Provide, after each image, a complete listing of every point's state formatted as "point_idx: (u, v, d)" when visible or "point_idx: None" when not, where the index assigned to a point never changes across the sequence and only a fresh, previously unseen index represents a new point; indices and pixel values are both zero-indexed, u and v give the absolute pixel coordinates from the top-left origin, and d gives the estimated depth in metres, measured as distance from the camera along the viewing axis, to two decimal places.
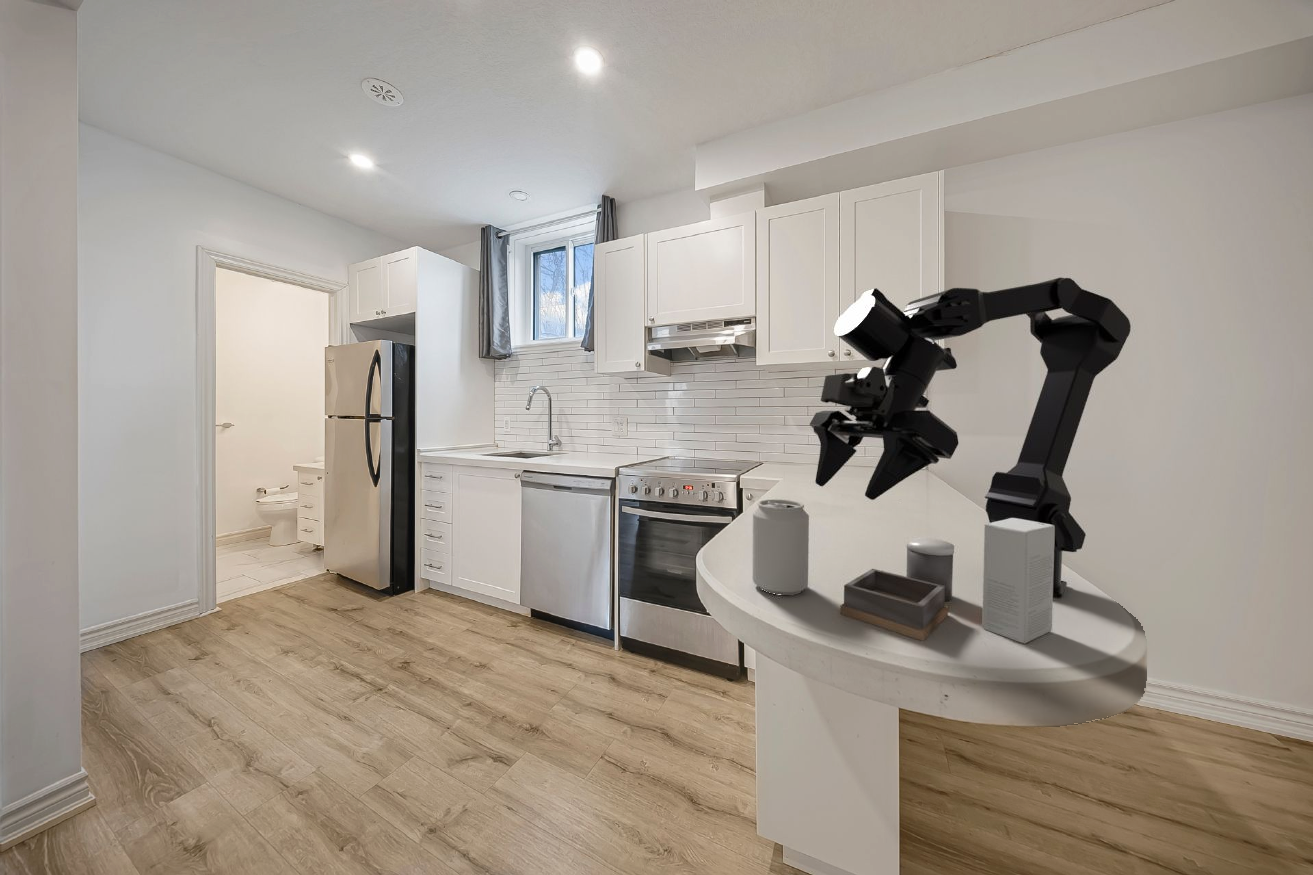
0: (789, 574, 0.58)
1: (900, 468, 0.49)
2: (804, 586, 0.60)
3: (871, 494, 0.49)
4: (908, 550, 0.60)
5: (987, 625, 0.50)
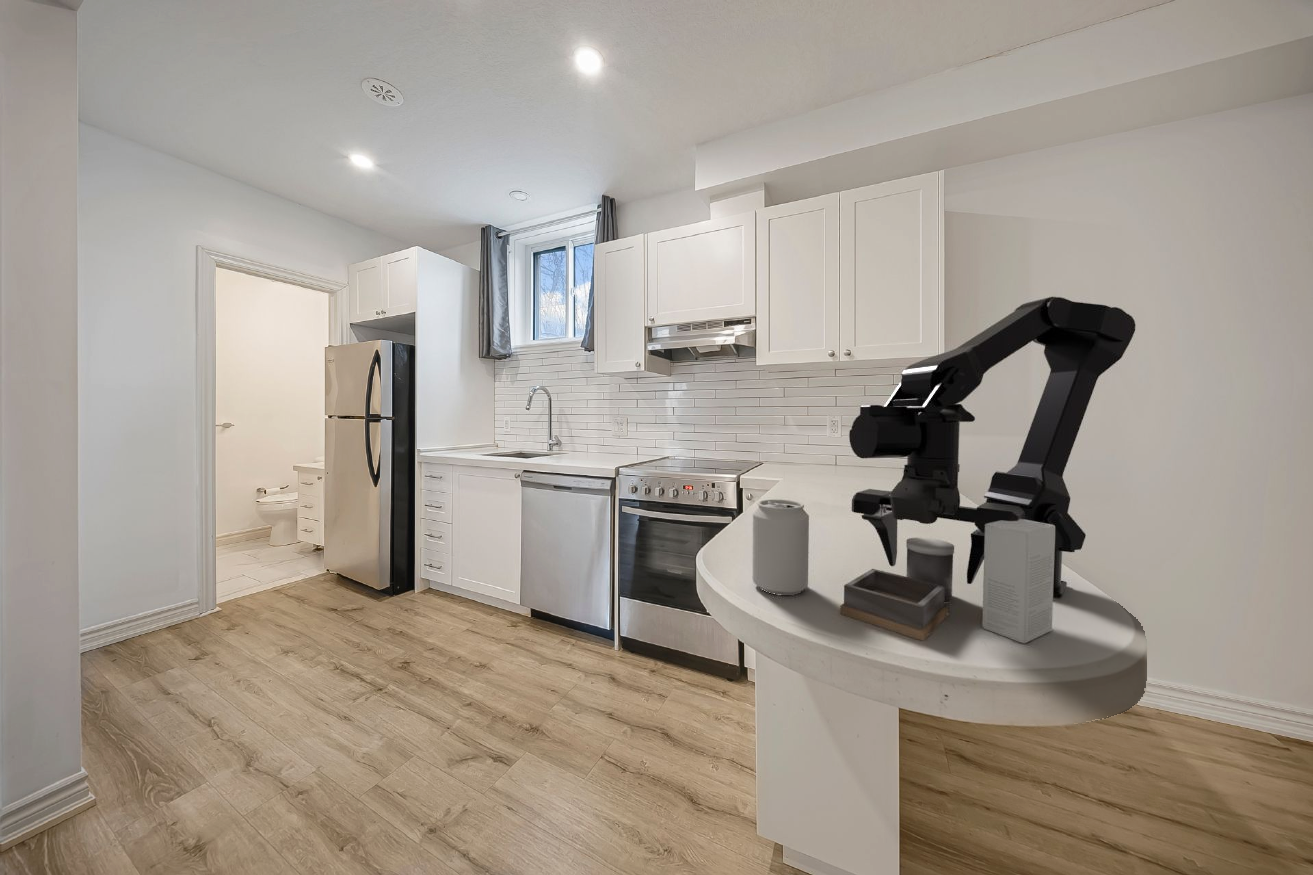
0: (789, 574, 0.58)
1: None
2: (804, 586, 0.60)
3: (972, 581, 0.56)
4: (908, 550, 0.60)
5: (987, 625, 0.50)
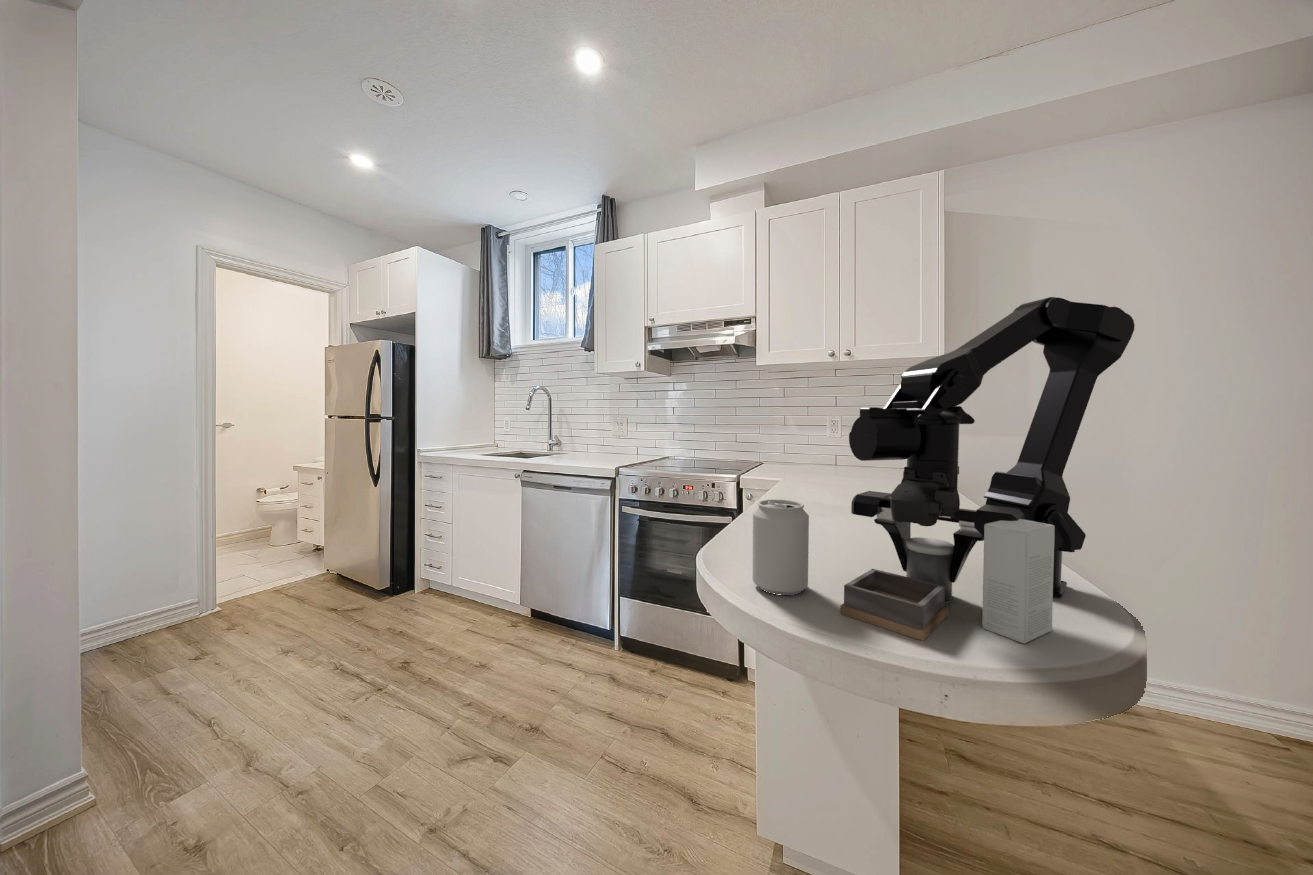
0: (789, 574, 0.58)
1: None
2: (804, 586, 0.60)
3: (955, 579, 0.57)
4: (908, 549, 0.60)
5: (987, 625, 0.50)
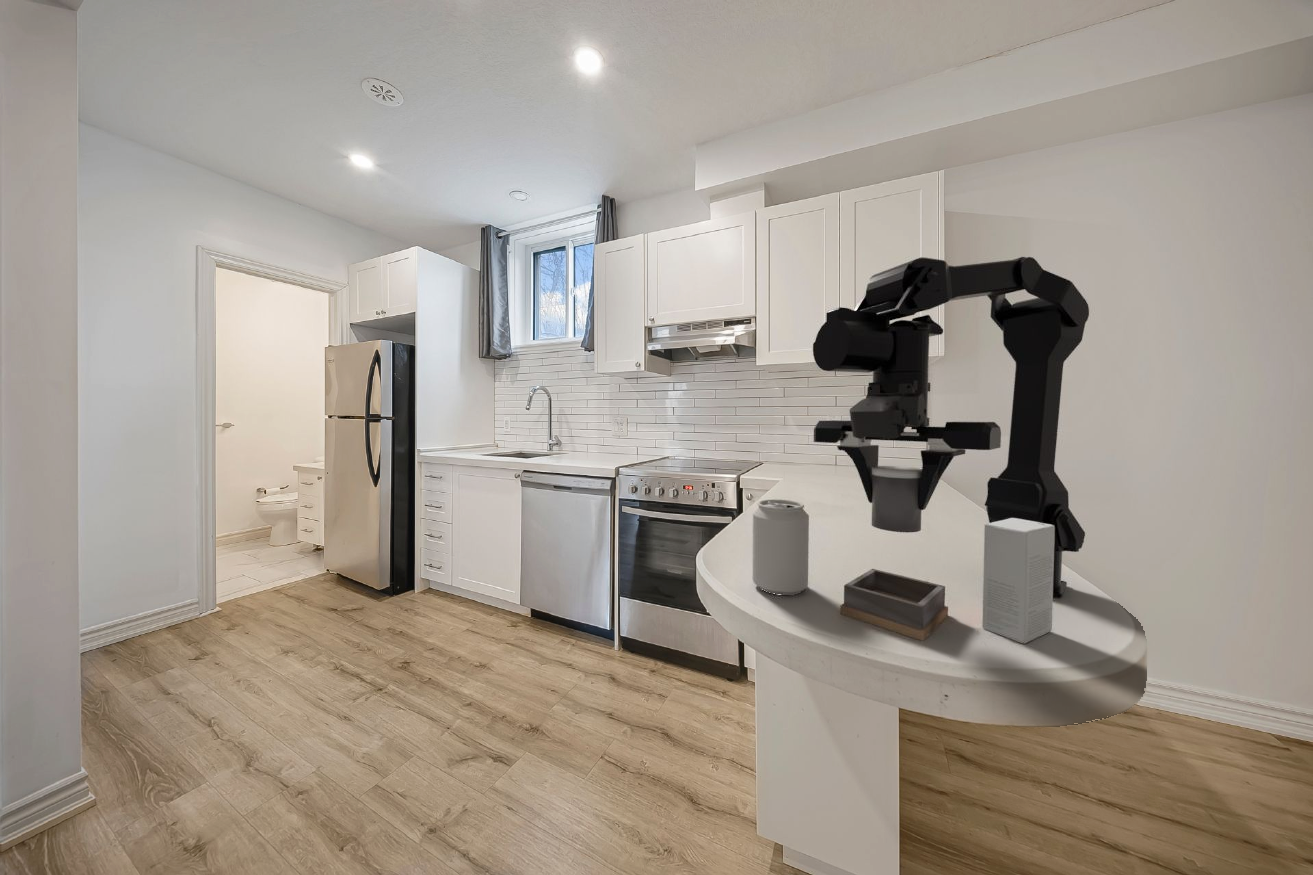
0: (789, 574, 0.58)
1: (937, 471, 0.51)
2: (804, 586, 0.60)
3: (924, 506, 0.51)
4: (873, 476, 0.54)
5: (987, 625, 0.50)
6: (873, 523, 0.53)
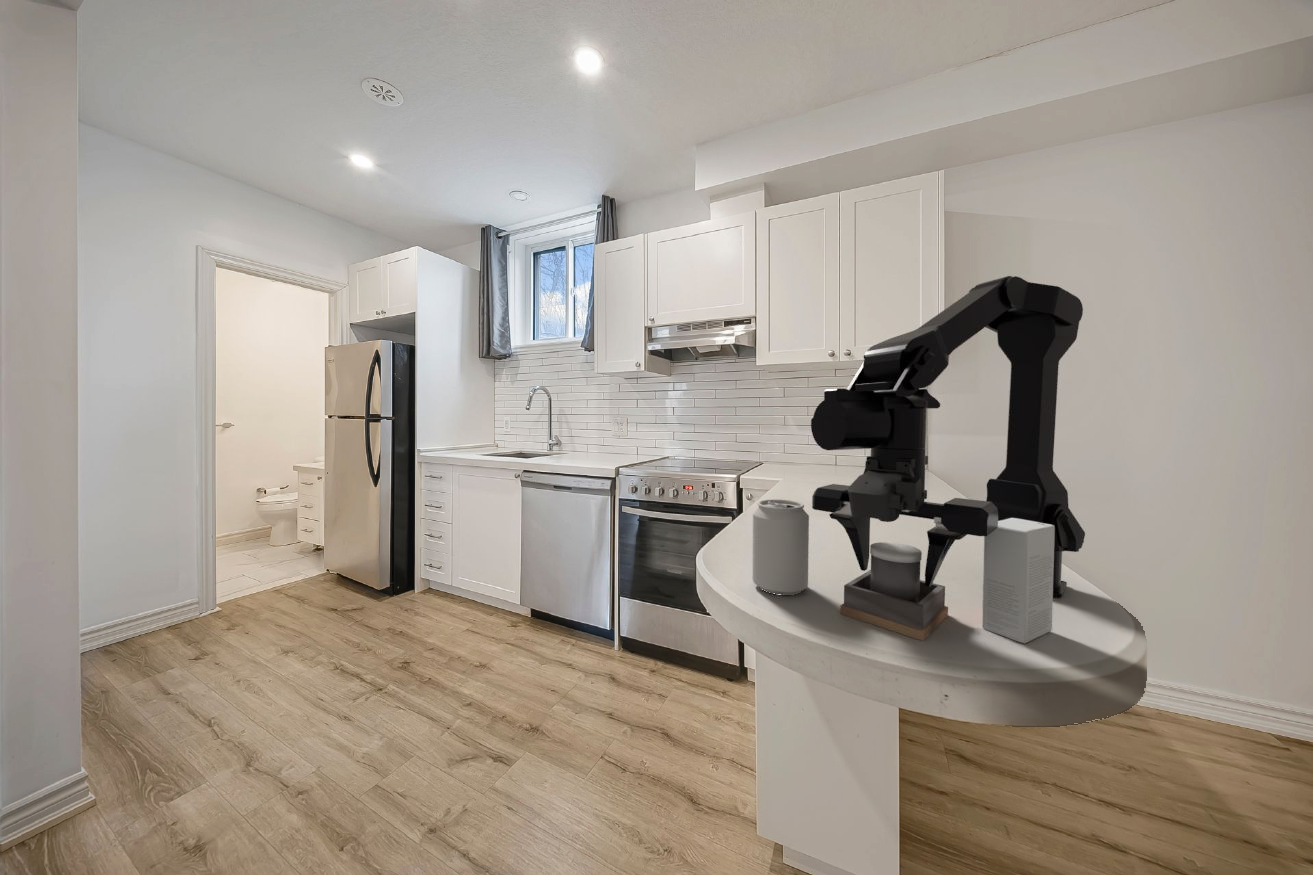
0: (789, 574, 0.58)
1: (944, 548, 0.50)
2: (804, 586, 0.60)
3: (931, 583, 0.51)
4: (871, 556, 0.54)
5: (987, 625, 0.50)
6: None
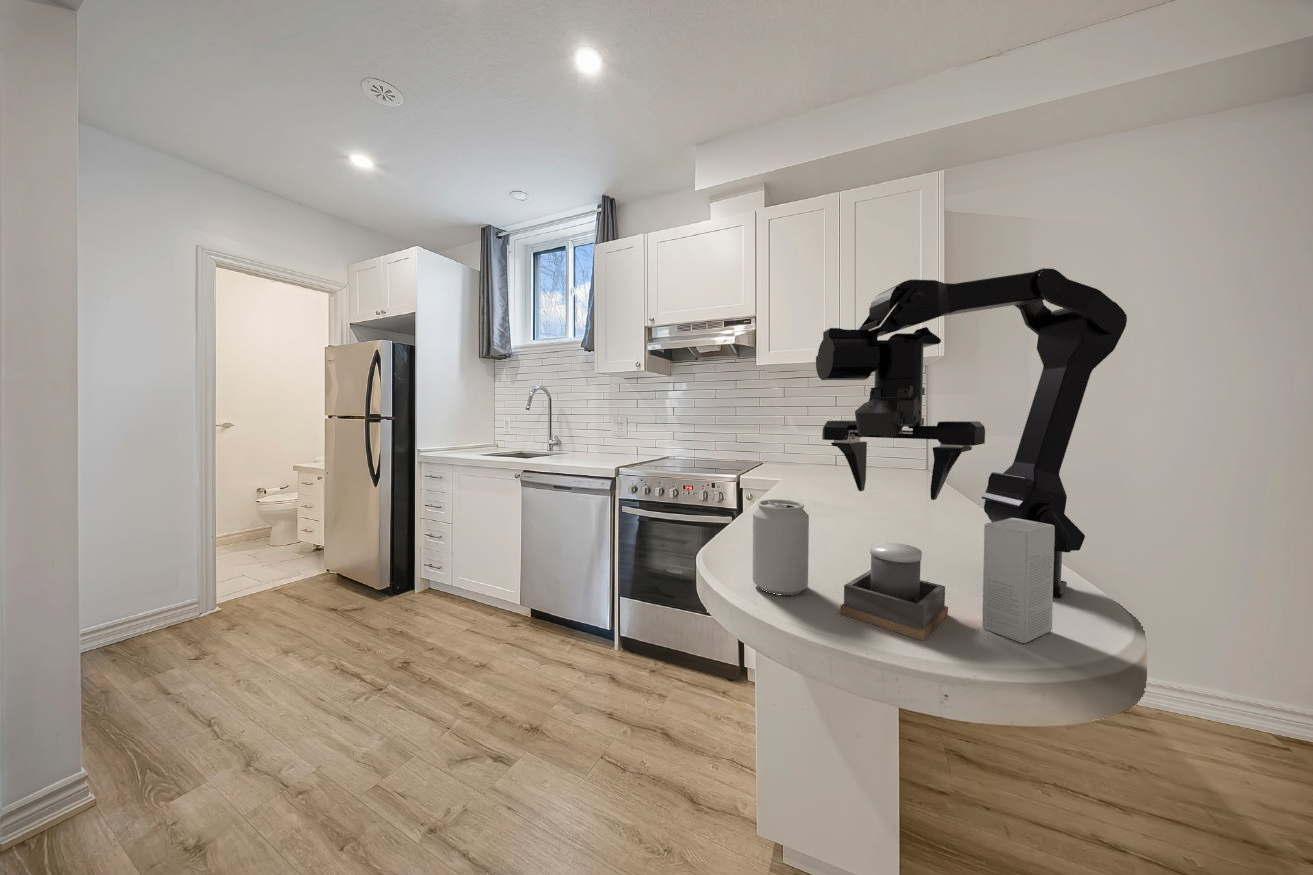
0: (789, 574, 0.58)
1: (947, 465, 0.57)
2: (804, 586, 0.60)
3: (936, 496, 0.57)
4: (871, 556, 0.54)
5: (987, 625, 0.50)
6: None
